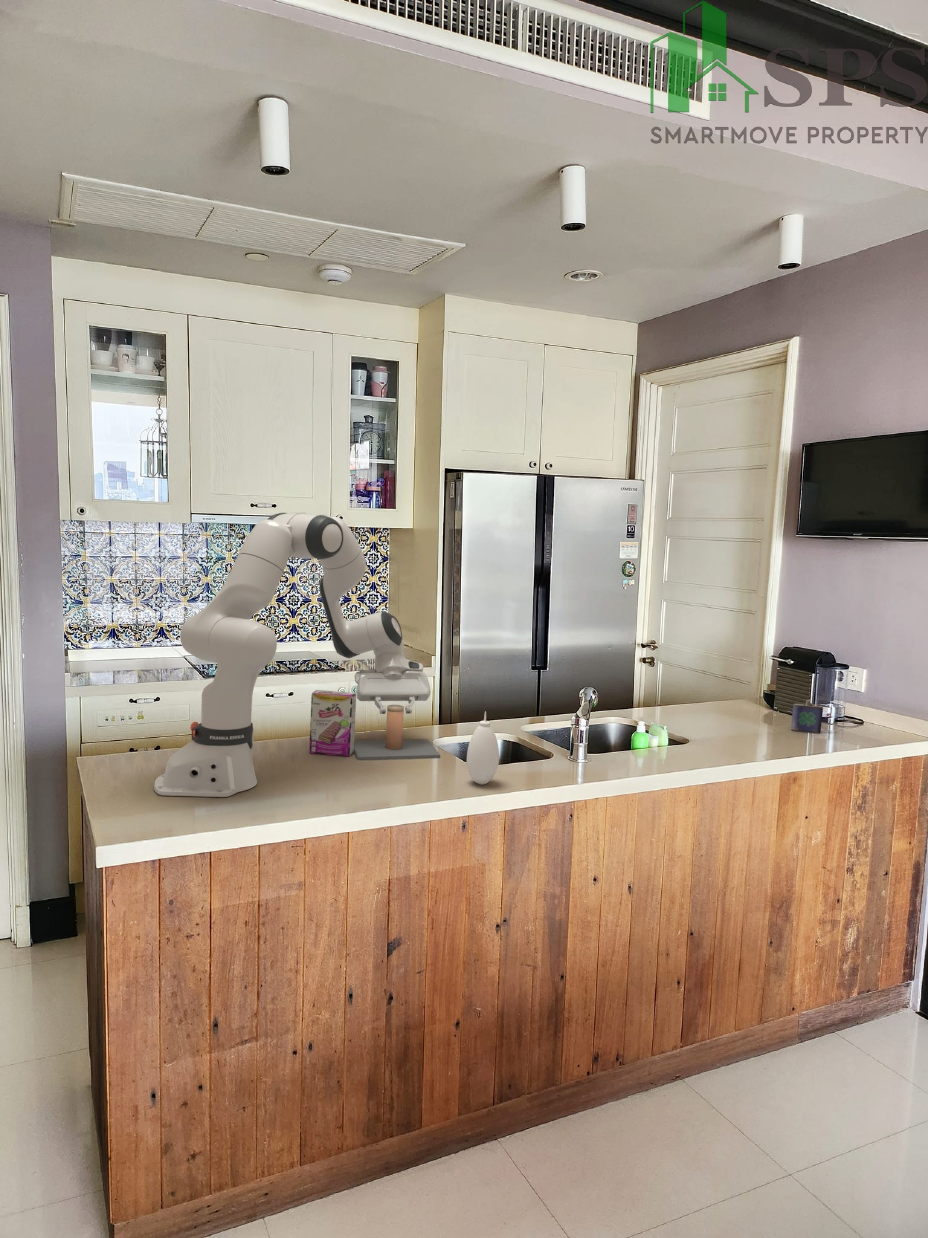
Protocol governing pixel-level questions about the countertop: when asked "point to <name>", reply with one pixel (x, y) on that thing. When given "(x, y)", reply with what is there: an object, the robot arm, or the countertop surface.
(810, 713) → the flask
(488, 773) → the white air blower bulb
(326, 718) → the candy bar box
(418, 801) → the countertop surface
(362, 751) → the mat
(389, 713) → the spice jar
